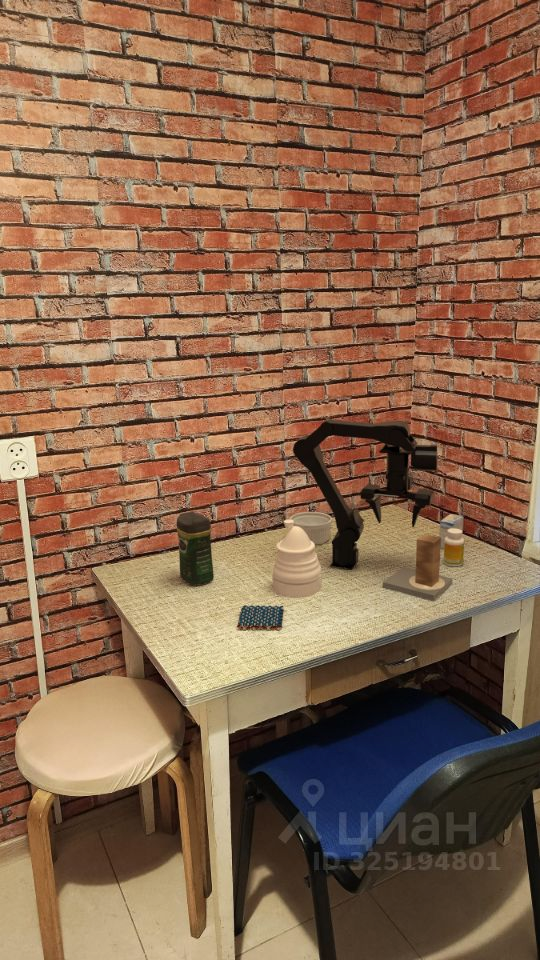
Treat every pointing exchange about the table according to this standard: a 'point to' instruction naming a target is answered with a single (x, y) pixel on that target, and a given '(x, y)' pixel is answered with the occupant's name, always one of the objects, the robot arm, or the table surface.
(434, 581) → the walnut block
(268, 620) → the woven mat
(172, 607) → the table surface
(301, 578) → the honey pot
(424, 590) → the slate board
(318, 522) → the ramekin
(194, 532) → the coffee jar
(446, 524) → the medicine box
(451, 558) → the supplement bottle
